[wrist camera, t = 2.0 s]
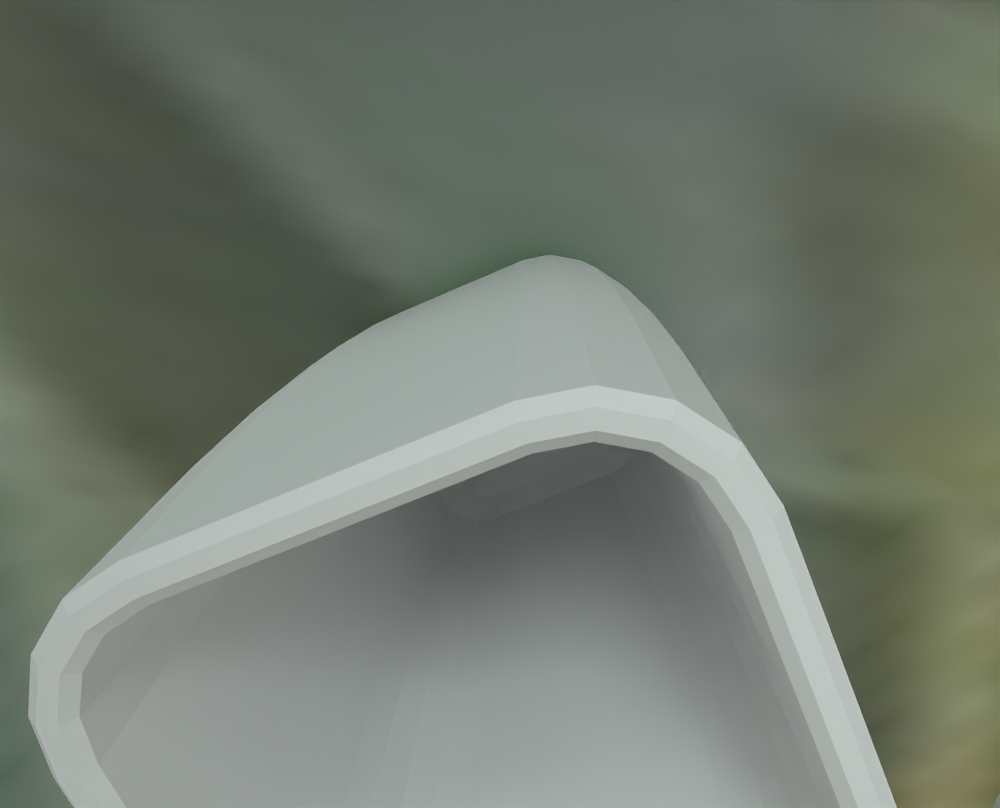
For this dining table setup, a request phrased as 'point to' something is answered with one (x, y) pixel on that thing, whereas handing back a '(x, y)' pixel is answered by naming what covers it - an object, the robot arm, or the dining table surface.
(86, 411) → the dining table surface
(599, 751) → the cup
